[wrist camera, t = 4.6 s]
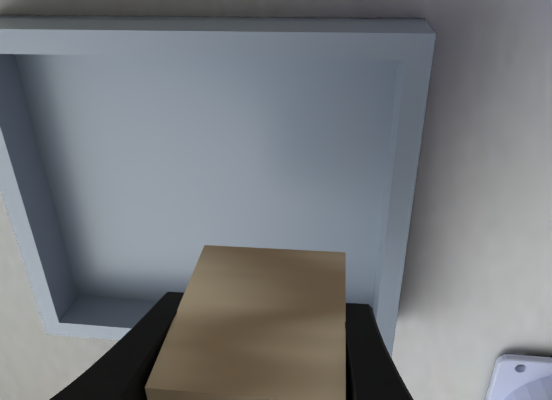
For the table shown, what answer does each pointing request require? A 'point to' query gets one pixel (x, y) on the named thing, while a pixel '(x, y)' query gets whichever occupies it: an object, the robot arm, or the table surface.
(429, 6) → the table surface
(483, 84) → the table surface
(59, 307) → the slate tray
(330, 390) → the maple block
